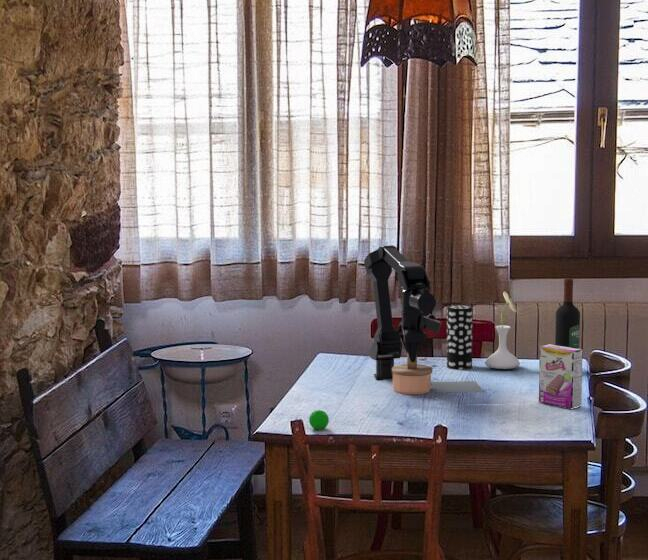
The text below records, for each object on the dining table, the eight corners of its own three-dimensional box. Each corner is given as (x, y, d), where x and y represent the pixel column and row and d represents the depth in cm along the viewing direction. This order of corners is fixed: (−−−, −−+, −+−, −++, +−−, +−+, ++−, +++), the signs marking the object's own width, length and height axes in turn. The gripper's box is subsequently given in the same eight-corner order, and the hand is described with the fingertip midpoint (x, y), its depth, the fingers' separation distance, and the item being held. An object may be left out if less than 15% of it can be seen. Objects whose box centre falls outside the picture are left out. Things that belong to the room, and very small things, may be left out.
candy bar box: (537, 403, 287) (538, 346, 285) (547, 400, 291) (548, 343, 289) (572, 410, 279) (573, 351, 277) (582, 407, 283) (583, 348, 281)
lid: (389, 367, 308) (389, 348, 308) (429, 367, 309) (429, 347, 308) (394, 376, 296) (394, 356, 296) (435, 375, 297) (435, 355, 296)
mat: (430, 383, 313) (430, 381, 313) (475, 382, 314) (475, 381, 314) (437, 393, 300) (437, 392, 300) (484, 392, 300) (484, 391, 300)
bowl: (391, 387, 309) (391, 368, 308) (427, 387, 309) (427, 367, 308) (395, 396, 298) (395, 376, 297) (432, 395, 298) (432, 375, 297)
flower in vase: (517, 372, 327) (518, 295, 324) (481, 370, 331) (482, 294, 328) (523, 364, 340) (524, 290, 337) (488, 362, 343) (489, 289, 340)
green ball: (312, 425, 266) (312, 408, 265) (331, 427, 264) (330, 409, 264) (307, 430, 261) (306, 412, 260) (325, 432, 259) (325, 414, 259)
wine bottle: (560, 368, 333) (562, 277, 330) (582, 371, 329) (584, 278, 325) (550, 372, 327) (552, 279, 324) (573, 375, 323) (575, 281, 319)
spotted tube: (473, 369, 333) (474, 309, 330) (448, 369, 333) (448, 309, 330) (470, 364, 341) (470, 305, 338) (445, 364, 341) (445, 305, 339)
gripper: (444, 312, 291) (443, 366, 293) (434, 302, 310) (434, 353, 312) (405, 313, 291) (405, 366, 293) (397, 303, 309) (397, 354, 311)
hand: (411, 360), depth 302 cm, fingers open, 6 cm apart
